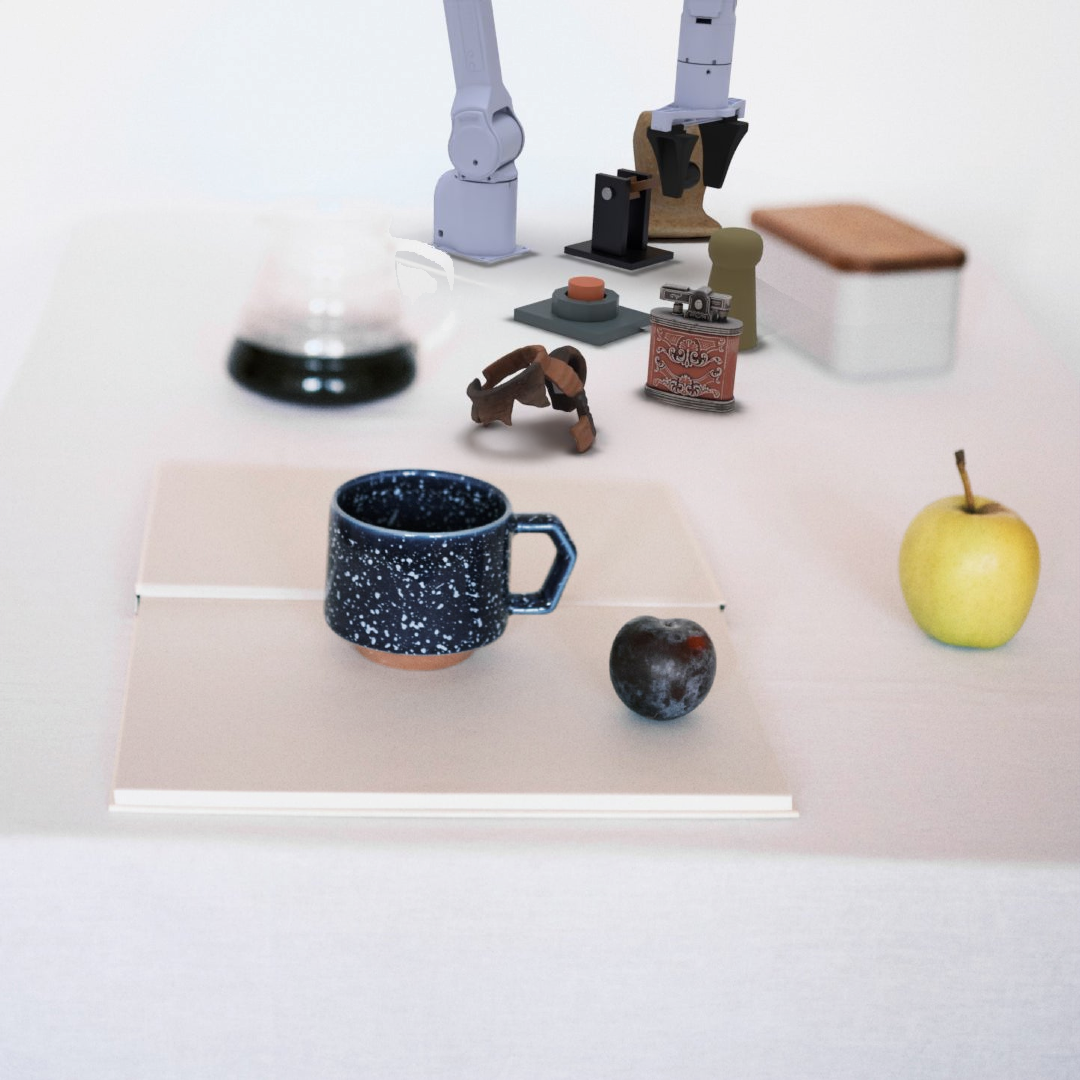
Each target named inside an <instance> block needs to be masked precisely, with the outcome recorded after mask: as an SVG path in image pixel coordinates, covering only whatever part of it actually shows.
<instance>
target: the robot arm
mask: <svg viewBox="0 0 1080 1080" xmlns="http://www.w3.org/2000/svg"><path fill="white" fill-rule="evenodd" d="M442 3H443V10H444V18H445V23H446V31H447V36H448V43H449V49H450V57H451V62H452V72H453V77H454V83H455V84H454V85H455V96H454V98H453V101H452V106H451V109H450V119H451V130H450V135H449V139H448V143H447V153H448V158H449V161H450V162H451V165H452V166H453V168H454V169H453V168H452V169H449V170H446V171H445V172H444V173H442V175H440V177H439V178H438V180H437V182H436V184H435V187H434V193H433V242H432V243H429V244H430V245H431V246H434V247H435V248H434V249H436V248H437V250H440V251H444V252H448V253H450V254H454V255H458V256H460V257H461V256H462V257H465V258H469V259H472V260H475V261H479V262H483V263H490V262H494V261H497V260H503V259H505V258H509V257H513V256H516V255H520V254H525V253H529V252H532V248H529V247H526V246H522V245H518V244H517V216H518V215H517V213H518V184H519V183H518V182H519V178H518V177H519V171H518V169H517V166H516V162H515V161H516V160H517V159H518V158H519V157H520V155H521V154H522V152H523V150H524V147H525V142H526V135H525V129H524V127H523V124H522V123H521V121H520V120H519V118H518V117H517V114H516V112H515V110H514V106H513V98H512V96H511V94H510V92H509V91H508V89H507V87H506V86H505V84H504V81H503V73H502V67H501V59H500V53H499V45H498V38H497V31H496V23H495V17H494V16H495V15H494V9H493V1H492V0H442ZM737 5H738V0H683V5H682V6H683V7H682V12H681V14H680V23H679V36H678V46H677V47H678V48H677V58H676V71H675V82H674V83H675V85H674V94H673V95H674V96H673V102H669V104H667V105H666V104H665V106H662V107H660V108H657V109H656V108H655V109H652V110H651V111H652V121H651V126H648V127H647V132H646V136H647V138H648V140H649V142H650V144H651V146H652V149H653V151H654V154H655V157H656V160H657V164H658V169H659V174H660V181H661V187H662V193H663V196H667V197H672V198H676V199H679V198H681V197H682V194H683V191H684V187H685V181H686V175H687V169H688V164H689V161H690V157H691V154H692V152H693V149H694V147H695V145H696V143H697V141H698V139H699V136H698V135H694V134H688V133H686V130H684V127H685V126H690V125H696V124H698V126H699V130H700V134H701V140H702V149H703V172H702V176H703V185H704V186H707V187H708V188H711V189H716V190H720V189H722V188H723V186H724V183H725V180H726V178H727V175H728V172H729V169H730V166H731V163H732V160H733V158H734V155H735V153H736V151H737V150H738V147H739V145H740V144H741V142H742V141H743V139H744V138H745V136H746V135H747V133H748V132H749V122H748V121H745V120H744V121H743V120H738V119H745V113H746V104H747V100H746V99H743V98H737V97H729V94H730V86H731V85H730V84H731V75H732V66H733V65H732V64H733V55H734V45H735V35H736V25H737V16H736V15H737V14H736V9H737ZM707 187H706V188H707Z"/></svg>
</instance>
